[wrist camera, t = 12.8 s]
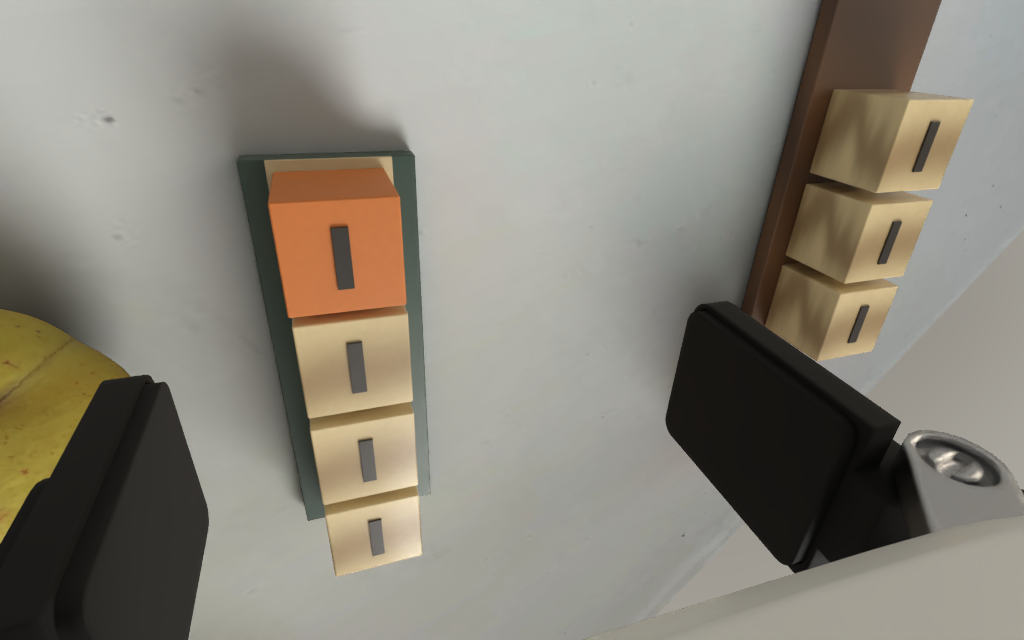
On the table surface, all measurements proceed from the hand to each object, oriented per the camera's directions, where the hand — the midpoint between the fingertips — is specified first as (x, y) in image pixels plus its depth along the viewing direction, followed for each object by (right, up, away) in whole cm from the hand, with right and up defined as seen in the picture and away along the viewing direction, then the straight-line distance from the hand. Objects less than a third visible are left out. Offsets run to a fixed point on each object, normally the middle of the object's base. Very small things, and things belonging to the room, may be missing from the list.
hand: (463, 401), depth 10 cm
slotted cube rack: (-7, 0, +18) cm, 20 cm away
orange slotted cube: (-7, +6, +14) cm, 16 cm away
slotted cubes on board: (+20, +10, +23) cm, 32 cm away
